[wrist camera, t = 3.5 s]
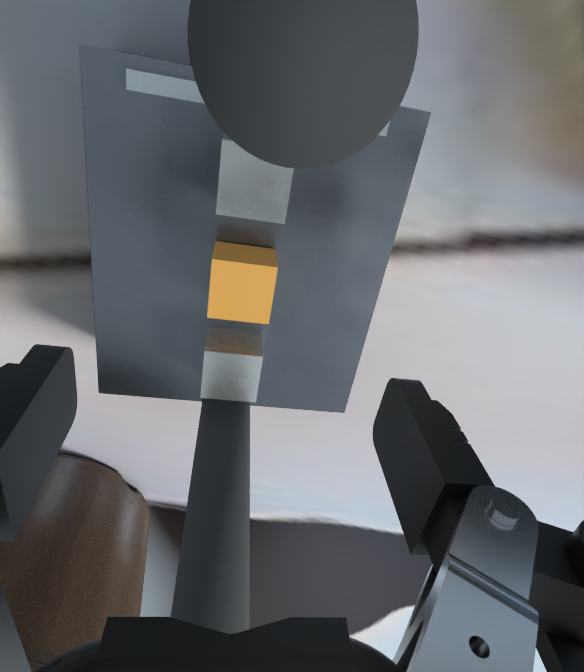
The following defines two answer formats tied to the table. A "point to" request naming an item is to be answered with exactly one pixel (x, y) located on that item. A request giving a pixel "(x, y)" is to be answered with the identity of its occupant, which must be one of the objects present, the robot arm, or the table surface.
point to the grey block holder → (232, 227)
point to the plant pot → (75, 559)
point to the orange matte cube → (242, 282)
